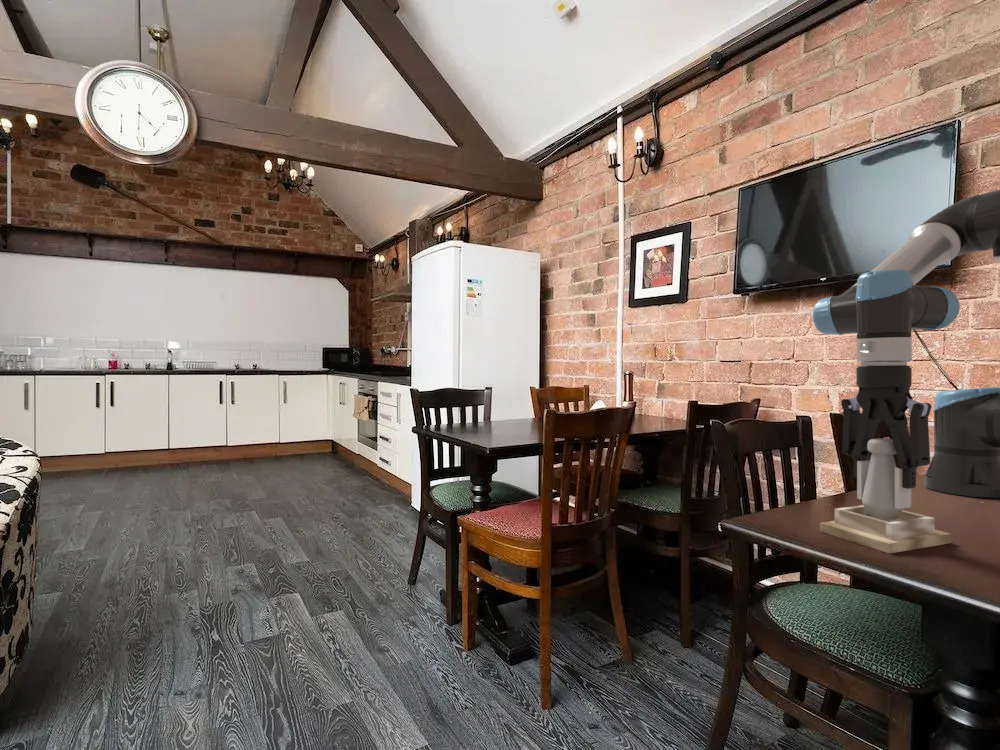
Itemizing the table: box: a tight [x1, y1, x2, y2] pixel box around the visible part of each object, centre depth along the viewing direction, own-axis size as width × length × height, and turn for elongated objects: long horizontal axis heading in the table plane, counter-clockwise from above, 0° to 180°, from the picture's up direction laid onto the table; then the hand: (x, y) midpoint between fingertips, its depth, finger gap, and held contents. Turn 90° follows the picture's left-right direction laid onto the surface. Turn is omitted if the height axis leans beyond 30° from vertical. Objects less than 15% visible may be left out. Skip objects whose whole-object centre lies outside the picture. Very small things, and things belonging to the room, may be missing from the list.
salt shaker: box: [861, 437, 904, 520], centre depth 91 cm, size 6×6×13 cm
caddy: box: [819, 504, 952, 554], centre depth 91 cm, size 14×12×4 cm
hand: (883, 502), depth 91 cm, fingers closed on salt shaker, 6 cm apart
